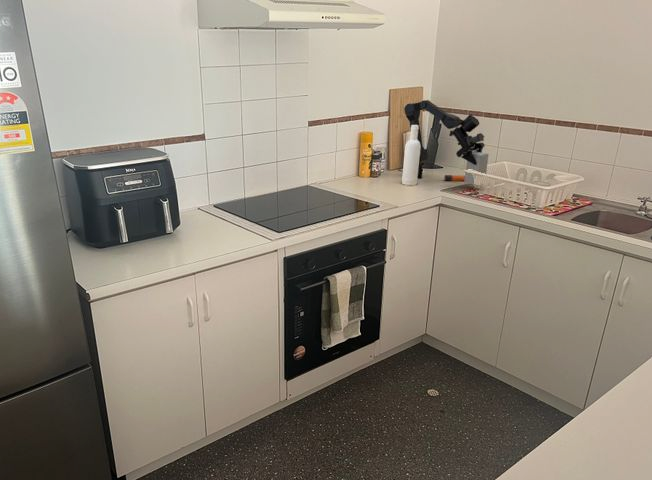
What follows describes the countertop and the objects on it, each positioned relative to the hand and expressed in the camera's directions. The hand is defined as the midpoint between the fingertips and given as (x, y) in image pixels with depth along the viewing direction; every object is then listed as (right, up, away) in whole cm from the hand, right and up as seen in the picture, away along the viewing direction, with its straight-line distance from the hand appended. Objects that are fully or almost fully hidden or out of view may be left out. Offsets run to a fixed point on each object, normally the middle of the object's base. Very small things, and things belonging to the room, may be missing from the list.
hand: (479, 163), depth 275 cm
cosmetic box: (-1, -9, +5) cm, 11 cm away
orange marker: (-4, -5, +22) cm, 23 cm away
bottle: (-32, -8, +16) cm, 36 cm away
